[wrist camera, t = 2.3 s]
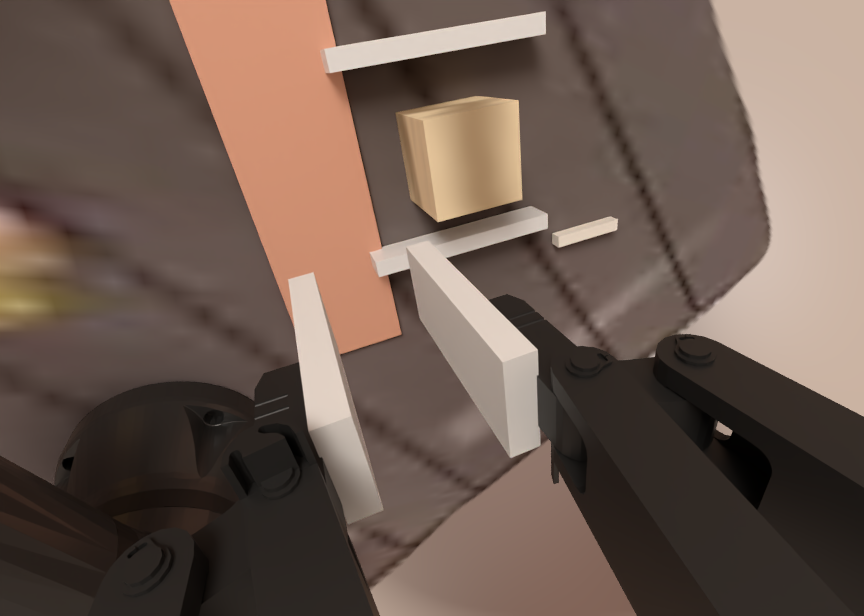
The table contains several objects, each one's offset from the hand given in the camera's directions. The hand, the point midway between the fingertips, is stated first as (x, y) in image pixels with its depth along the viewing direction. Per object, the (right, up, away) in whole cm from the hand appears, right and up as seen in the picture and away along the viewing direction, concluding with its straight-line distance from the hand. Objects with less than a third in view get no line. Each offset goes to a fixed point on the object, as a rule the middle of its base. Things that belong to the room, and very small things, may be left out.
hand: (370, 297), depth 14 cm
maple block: (+3, +11, +17) cm, 21 cm away
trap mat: (-7, +8, +15) cm, 19 cm away
